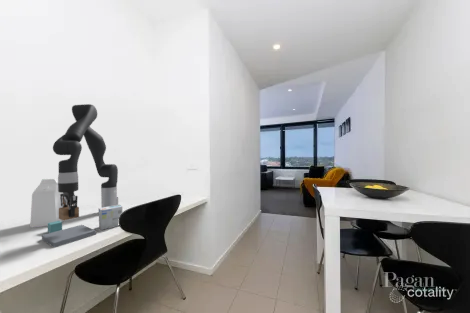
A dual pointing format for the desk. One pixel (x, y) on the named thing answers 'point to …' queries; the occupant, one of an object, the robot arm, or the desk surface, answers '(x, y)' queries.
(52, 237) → the slate gray board
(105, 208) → the light bulb box
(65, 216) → the walnut block
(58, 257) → the desk surface
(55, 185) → the milk
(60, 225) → the teal block
